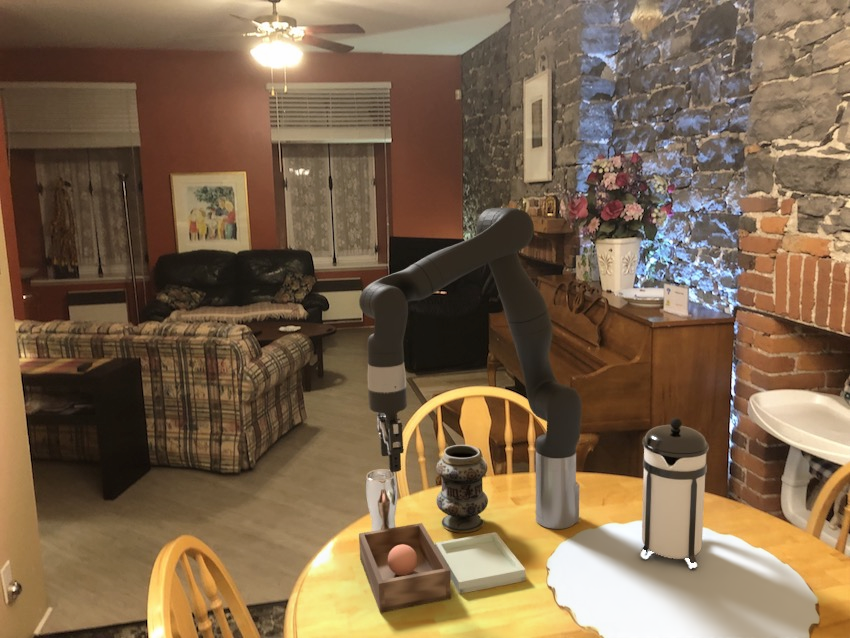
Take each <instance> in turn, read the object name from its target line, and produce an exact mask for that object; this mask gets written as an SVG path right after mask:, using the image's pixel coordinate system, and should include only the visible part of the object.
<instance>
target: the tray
mask: <svg viewBox="0 0 850 638" xmlns="http://www.w3.org/2000/svg"><path fill="white" fill-rule="evenodd" d="M434 544H435V546H436V547H437V549H438V551H439V552H440V554H441V556H442V557H443V559H444V561H445V562H446V564H447V566H448V567H449V569H450V578H451V583H452V584H453V586H454V588H455V589H456V591H457V593H458V594H466V593H471V592H476V591H481V590H486V589H490V588H496V587H501V586H505V585H506V586H507V585H511V584H515V583H521V582H526V568H525V567H524V566H523V564H522V563H521V562H520V560H519V559H518V558H517V557H516V556H515V554H514V553H513V552H512V551H511V550H510V547H508V546H507V545H506V543H505V542H504V541H503V539H502V537H500V535H499V534H498V533H497V532H496V531H495V532H488V533H482V534H479V535H472V536H466V537H462V538H455V539H454V538H453V539H449V540H444V541H438V542H435V543H434Z"/></svg>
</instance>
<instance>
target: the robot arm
mask: <svg viewBox="0 0 850 638" xmlns="http://www.w3.org/2000/svg"><path fill="white" fill-rule="evenodd" d="M534 233H535V224H534V221H533V219H532V217H531V215H530V214H529V213H528V212H527V211H525V210H524V209H521V208H517V207H490V208H487V209H485V210H484V211H483V212H482V213H480V215H479V217H478V219H477V223H476V235H474V236H472V237H471V238H468V239H465V240H463V241H461V242H459V243H456V244H453V245H451V246H450V245H449V246H447V247H444V248H442V249H441V248H440V249H439V250H437V251H434V252H432V253H431V254H428V255H426V256H425V257H423V258H421V259H420V260H418V261H417V262H414V263H413V264H410V265H409V266H408V267H406V268H405V269H402V270H400V271H397V272H394V273H391V274H389V275H386V276H383V277H381V278H379V279H376V280H375V281H373V282H371V283H369V284H368V285H367V286H366V287H365V288H364V289H363V290H362V292H361V294H360V296H359V301H358V303H359V308H360V310H361V312H362V313H363V314H364V315H365V316H367V317H369V318H371V319H373V320H374V327H373V328H374V329H373V333H372V334H370V335H369V336H368V338H367V343H366V346H367V347H366V348H367V349H366V350H367V351H366V352H367V377H366V378H367V393H368V408H369V410H370V411H372V412H373V413H376V431H377V432H378V437H379V438H380V439H379V440H380V454H381V456H382V457H388V467H389V468H388V470H390V471H391V472H395V473H396V472H401V470H402V461H401V460H402V459H401V458H402V457H401V456H402V455H401V454H404V452H405V448H404V439H403V437H404V436H403V435H404V434H403V423H402V422H401V418H400V417H399V416H398V413H400V412H403V411H404V410H405V409H406V408H407V407H408V395H407V393H408V392H407V373H406V368H405V367H406V366H405V354H404V353H405V352H404V338H405V333H406V328H407V321H408V315H409V307H408V306H409V305H408V303H409V302H412V301H421V300H424V299H427V298H428V297H430V296H431V295H433V294H435V293H437V292H438V291H440V290H442V289H443V288H445V287H447V286H448V285H450V284H452V283H453V282H455V281H457V280H458V279H460V278H461V277H464V276H465V275H467V274H469V273H471V272H473V271H475V270H476V269H478V268H481V267H482V266H484V265H488V266H489V269H490V271H491V273H492V277H493V279H494V282H495V286H496V289H497V291H498V295H499V298H500V301H501V304H502V307H503V311H504V315H505V319H506V323H507V325H508V328H509V332H510V335H511V337H512V341H513V345H514V347H515V350H516V355H517V357H518V360H519V364H520V367H521V371H522V376H523V381H524V387H525V392H526V397H527V403H528V405H529V408H530V410H531V412H532V414H534V415H535V416H536V417H537V418H539V419H541V420H543V421H545V422H546V432H545V433H544V434H541V435H538V436H537V438H536V439H535V521H536V523H538V525H540V526H541V527H545V528H548V529H551V530H552V529H553V530H561V529H563V530H564V529H569V528H570V527H572V526H574V524H578V523H580V483H578V481H577V445H578V444H579V441H580V437H581V427H582V426H581V425H582V424H581V423H582V399H581V396H580V394H579V393H578V391H577V390H576V389H574V388H572V387H571V386H568V385H565V384H563V383H560V382H558V380H557V379H556V377H555V374H554V371H553V369H552V366H551V361H550V349H551V345H552V339H553V334H554V333H553V323H552V319H551V317H550V313H549V308H548V306H547V302H546V299H545V298H544V296H543V294H542V293H541V291H539V288H538V287H537V285H536V284H535V283H534V282H533V280H532V278H531V277H530V276H529V275H528V273H527V272H526V271H525V268H524V267H523V265H522V263H521V260H520V257H519V255H518V254H519V253H518V252H519V251H522V250H523V249H525V248H526V247H527V246H528V245H529V243H531V242H532V241H531V240H532V239H533V236H534ZM398 417H399V418H398ZM394 443H396V446H395V447H394Z"/></svg>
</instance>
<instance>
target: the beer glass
mask: <svg viewBox="0 0 850 638" xmlns="http://www.w3.org/2000/svg"><path fill="white" fill-rule="evenodd" d="M396 476H397V474H396V472H391V471H390V470H389V468H377V469H373V470H371V471H369V472H367V473H366V483H365V484H366V486H365V492H366V493H365V495H366V500H367V501H366V502H367V507H368V511H369V514H370V515H369V516H370V519H371V520H370V521H371V528H370V529H371V530H370V532H371V531H377V530H383V529H389V528H395V527H397V526H396V520H395V519H396V512H397V505H398V484H397V478H396Z"/></svg>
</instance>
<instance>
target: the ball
mask: <svg viewBox="0 0 850 638" xmlns="http://www.w3.org/2000/svg"><path fill="white" fill-rule="evenodd" d="M388 565H389V568H390V569H391V571H392V572H393V573H395V574H397V575H400V576H405V575H408V574H410V573H411V572H412V571H413V570H414V569H415V567H416V565H417V555H416V553H415V551H414V550H413V549H412V548H411V547H410V546H408V545H404V544H401V545H397V546H395V547H394V548H393V549H392V550H391V551H390V553H389V555H388Z"/></svg>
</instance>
